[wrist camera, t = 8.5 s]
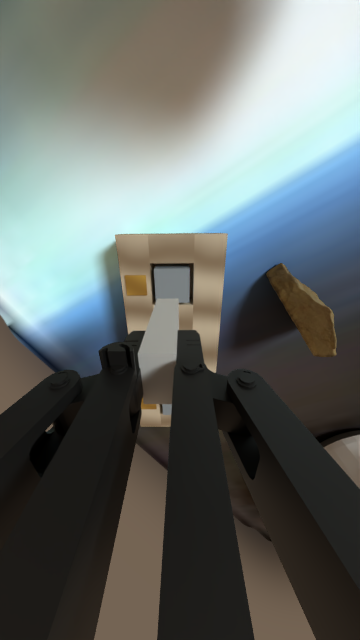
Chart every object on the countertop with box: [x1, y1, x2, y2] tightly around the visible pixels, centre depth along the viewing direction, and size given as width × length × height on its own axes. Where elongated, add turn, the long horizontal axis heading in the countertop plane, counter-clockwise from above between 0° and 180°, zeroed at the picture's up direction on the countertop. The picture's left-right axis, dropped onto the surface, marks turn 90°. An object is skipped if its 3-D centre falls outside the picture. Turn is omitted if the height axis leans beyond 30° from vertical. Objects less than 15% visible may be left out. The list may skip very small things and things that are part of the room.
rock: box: [266, 263, 336, 357], centre depth 25 cm, size 11×9×10 cm
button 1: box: [154, 264, 190, 303], centre depth 24 cm, size 4×4×3 cm
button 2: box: [162, 404, 172, 415], centre depth 32 cm, size 4×4×3 cm
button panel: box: [115, 233, 228, 427], centre depth 29 cm, size 30×12×4 cm, turn 1°
